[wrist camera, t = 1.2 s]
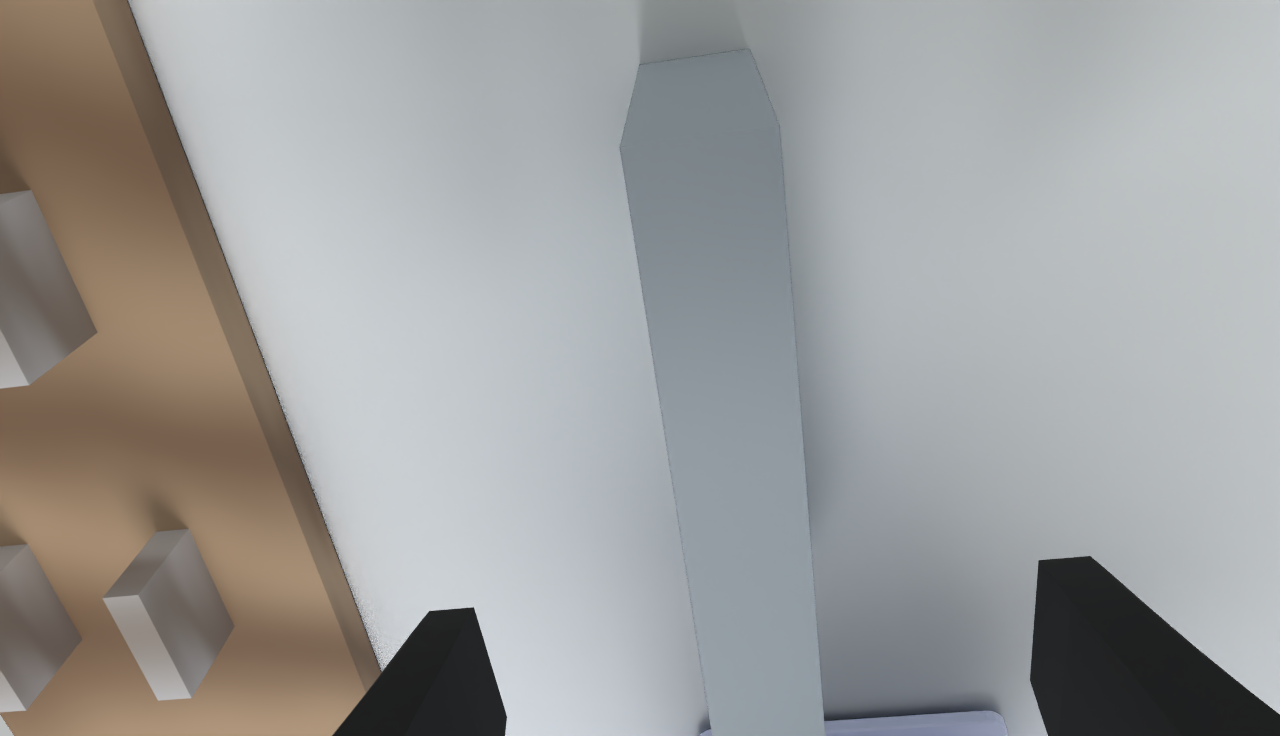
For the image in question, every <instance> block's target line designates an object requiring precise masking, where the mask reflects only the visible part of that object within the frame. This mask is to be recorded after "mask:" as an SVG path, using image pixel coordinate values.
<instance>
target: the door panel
mask: <svg viewBox="0 0 1280 736" xmlns="http://www.w3.org/2000/svg"><path fill="white" fill-rule="evenodd" d="M620 152H621V158H622V165H623V171H624V177H625V184H626V190H627V197H628V203H629V209H630V216H631V222H632V228H633V235H634V241H635V248H636V254H637V260H638V267H639V273H640V280H641V286H642V292H643V299H644V305H645V311H646V318H647V324H648V331H649V337H650V343H651V350H652V356H653V362H654V369H655V375H656V382H657V388H658V394H659V401H660V407H661V414H662V420H663V426H664V433H665V439H666V445H667V452H668V458H669V465H670V471H671V477H672V484H673V490H674V497H675V503H676V509H677V516H678V522H679V528H680V535H681V541H682V548H683V554H684V560H685V567H686V573H687V579H688V586H689V592H690V599H691V605H692V611H693V618H694V624H695V630H696V637H697V643H698V650H699V656H700V662H701V669H702V675H703V682H704V688H705V694H706V701H707V707H708V713H709V720H710V726H711V733H712V736H825V726H824V712H823V699H822V686H821V672H820V659H819V645H818V632H817V619H816V605H815V592H814V579H813V565H812V552H811V539H810V525H809V512H808V499H807V485H806V472H805V458H804V445H803V432H802V418H801V405H800V392H799V378H798V365H797V352H796V338H795V325H794V312H793V298H792V285H791V271H790V258H789V245H788V231H787V218H786V205H785V191H784V178H783V165H782V151H781V138H780V125H779V123H778V120H777V118H776V115H775V113H774V110H773V107H772V105H771V102H770V100H769V97H768V95H767V92H766V90H765V87H764V84H763V82H762V79H761V77H760V74H759V72H758V69H757V66H756V64H755V61H754V59H753V56H752V54H751V51H750V49H744V50H737V51H730V52H723V53H716V54H709V55H702V56H696V57H689V58H682V59H675V60H668V61H661V62H654V63H647V64H640V65H639V70H638V74H637V78H636V82H635V86H634V90H633V94H632V98H631V103H630V107H629V111H628V115H627V119H626V123H625V127H624V132H623V136H622V140H621V144H620Z"/></svg>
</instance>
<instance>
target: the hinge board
mask: <svg viewBox="0 0 1280 736" xmlns="http://www.w3.org/2000/svg"><path fill="white" fill-rule="evenodd" d="M380 674H381V671H380V668H379V665H378V663H377V660H376V657H375V655H374V652H373V649H372V647H371V644H370V642H369V639H368V636H367V634H366V631H365V628H364V626H363V623H362V620H361V618H360V615H359V612H358V610H357V607H356V605H355V602H354V599H353V597H352V594H351V591H350V589H349V586H348V583H347V581H346V578H345V575H344V573H343V570H342V568H341V565H340V562H339V560H338V557H337V554H336V552H335V549H334V546H333V544H332V541H331V539H330V536H329V533H328V531H327V528H326V525H325V523H324V520H323V517H322V515H321V512H320V509H319V507H318V504H317V502H316V499H315V496H314V494H313V491H312V488H311V486H310V483H309V480H308V478H307V475H306V472H305V470H304V467H303V465H302V462H301V459H300V457H299V454H298V451H297V449H296V446H295V443H294V441H293V438H292V436H291V433H290V430H289V428H288V425H287V422H286V420H285V417H284V414H283V412H282V409H281V406H280V404H279V401H278V399H277V396H276V393H275V391H274V388H273V385H272V383H271V380H270V377H269V375H268V372H267V369H266V367H265V364H264V362H263V359H262V356H261V354H260V351H259V348H258V346H257V343H256V340H255V338H254V335H253V333H252V330H251V327H250V325H249V322H248V319H247V317H246V314H245V311H244V309H243V306H242V303H241V301H240V298H239V296H238V293H237V290H236V288H235V285H234V282H233V280H232V277H231V274H230V272H229V269H228V266H227V264H226V261H225V259H224V256H223V253H222V251H221V248H220V245H219V243H218V240H217V237H216V235H215V232H214V229H213V227H212V224H211V222H210V219H209V216H208V214H207V211H206V208H205V206H204V203H203V200H202V198H201V195H200V193H199V190H198V187H197V185H196V182H195V179H194V177H193V174H192V171H191V169H190V166H189V163H188V161H187V158H186V156H185V153H184V150H183V148H182V145H181V142H180V140H179V137H178V134H177V132H176V129H175V126H174V124H173V121H172V119H171V116H170V113H169V111H168V108H167V105H166V103H165V100H164V97H163V95H162V92H161V90H160V87H159V84H158V82H157V79H156V76H155V74H154V71H153V68H152V66H151V63H150V60H149V58H148V55H147V53H146V50H145V47H144V45H143V42H142V39H141V37H140V34H139V31H138V29H137V26H136V23H135V21H134V18H133V16H132V13H131V10H130V8H129V5H128V2H127V0H0V715H1V716H2V718H3V719H4V721H5V722H6V724H7V725H8V727H9V728H10V730H11V731H12V733H13V735H14V736H332V735H333V734H334V732H335V731H336V730H337V729H338V727H339V726H340V725H341V724H342V723H343V721H344V720H345V719H346V718H347V716H348V715H349V714H350V713H351V711H352V710H353V709H354V708H355V706H356V705H357V704H358V703H359V701H360V700H361V699H362V698H363V696H364V695H365V694H366V692H367V691H368V690H369V688H370V687H371V686H372V685H373V683H374V682H375V681H376V679H377V678H378V677H379V676H380Z"/></svg>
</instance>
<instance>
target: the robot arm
mask: <svg viewBox="0 0 1280 736" xmlns="http://www.w3.org/2000/svg"><path fill="white" fill-rule="evenodd" d="M1030 681H1031V684H1032V687H1033V691H1034V694H1035V697H1036V700H1037V703H1038V706H1039V709H1040V713H1041V716H1042V719H1043V722H1044V725H1045V728H1046V731H1047V734H1048V736H1280V715H1279V714H1278V713H1277V712H1276V711H1274V710H1273V709H1272V708H1270V707H1269V706H1268V705H1267V704H1265V703H1264V702H1263V701H1261V700H1260V699H1259V698H1258V697H1256V696H1255V695H1254V694H1252V693H1251V692H1250V691H1249V690H1247V689H1246V688H1245V687H1244V686H1243V685H1241V684H1240V683H1239V682H1238V681H1236V680H1235V679H1234V678H1233V677H1231V676H1230V675H1229V674H1228V673H1227V672H1225V671H1224V670H1223V669H1222V668H1220V667H1219V666H1218V665H1217V664H1215V663H1214V662H1213V661H1212V660H1211V659H1209V658H1208V657H1207V656H1206V655H1204V654H1203V653H1202V652H1201V651H1200V650H1198V649H1197V648H1196V647H1195V646H1194V645H1192V644H1191V643H1190V642H1189V641H1188V640H1186V639H1185V638H1184V637H1183V636H1182V635H1181V634H1179V633H1178V632H1177V631H1176V630H1175V629H1174V628H1172V627H1171V626H1170V625H1169V624H1168V623H1167V622H1166V621H1164V620H1163V619H1162V618H1161V617H1160V616H1159V615H1157V614H1156V613H1155V612H1154V611H1153V610H1152V609H1150V608H1149V607H1148V606H1147V605H1146V604H1145V603H1144V602H1142V601H1141V600H1140V599H1139V598H1138V597H1137V596H1136V595H1135V594H1133V593H1132V592H1131V591H1130V590H1129V589H1128V588H1127V587H1125V586H1124V585H1123V584H1122V583H1121V582H1120V581H1119V580H1117V579H1116V578H1115V577H1114V576H1113V575H1112V574H1111V573H1109V572H1108V571H1107V570H1106V569H1105V568H1104V567H1102V566H1101V565H1100V564H1099V563H1098V562H1097V561H1095V560H1094V559H1093V558H1092V557H1091V556H1086V557H1074V558H1062V559H1050V560H1039V563H1038V577H1037V591H1036V605H1035V619H1034V633H1033V646H1032V660H1031V674H1030ZM506 720H507V716H506V712H505V709H504V706H503V702H502V699H501V696H500V692H499V689H498V686H497V682H496V679H495V676H494V673H493V669H492V666H491V663H490V659H489V656H488V653H487V649H486V646H485V643H484V640H483V636H482V633H481V630H480V626H479V623H478V620H477V616H476V613H475V610H474V607H473V608H461V609H449V610H437V611H429V612H428V614H427V615H426V616H425V617H424V618H423V619H422V621H421V622H420V623H419V625H418V626H417V627H416V628H415V630H414V631H413V632H412V634H411V635H410V636H409V637H408V639H407V640H406V641H405V643H404V644H403V645H402V647H401V648H400V649H399V651H398V652H397V653H396V655H395V656H394V657H393V658H392V660H391V661H390V662H389V664H388V665H387V666H386V668H385V669H384V670H383V672H382V673H381V674H380V676H379V677H378V678H377V679H376V681H375V682H374V683H373V685H372V686H371V687H370V688H369V690H368V691H367V692H366V694H365V695H364V696H363V698H362V699H361V700H360V701H359V703H358V704H357V705H356V706H355V708H354V709H353V710H352V711H351V713H350V714H349V715H348V716H347V718H346V719H345V720H344V721H343V723H342V724H341V725H340V726H339V727H338V729H337V730H336V731H335V732H334V734H333V735H332V736H505V730H506ZM824 726H825V736H1008V731H1007V727H1006V725H1005V722H1004V719H1003V717H1002V716H1001V715H1000V714H998V713H996V712H993V711H970V712H955V713H940V714H925V715H910V716H895V717H880V718H865V719H850V720H835V721H824ZM699 736H712V733H711V729H709V730H706V731H704V732H703V733H701V734H700V735H699Z"/></svg>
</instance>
